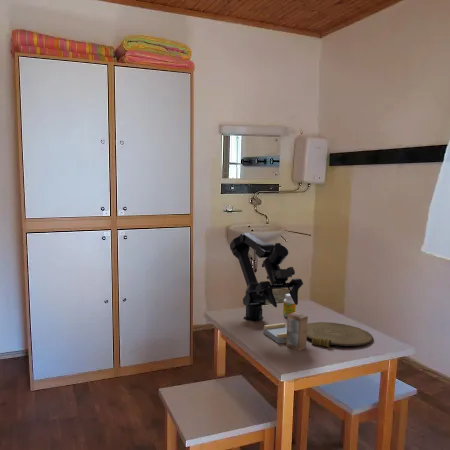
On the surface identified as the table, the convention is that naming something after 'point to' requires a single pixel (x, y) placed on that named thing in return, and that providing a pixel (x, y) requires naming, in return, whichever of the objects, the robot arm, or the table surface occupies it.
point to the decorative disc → (337, 334)
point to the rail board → (276, 332)
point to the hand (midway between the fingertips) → (286, 305)
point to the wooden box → (296, 331)
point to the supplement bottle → (288, 305)
